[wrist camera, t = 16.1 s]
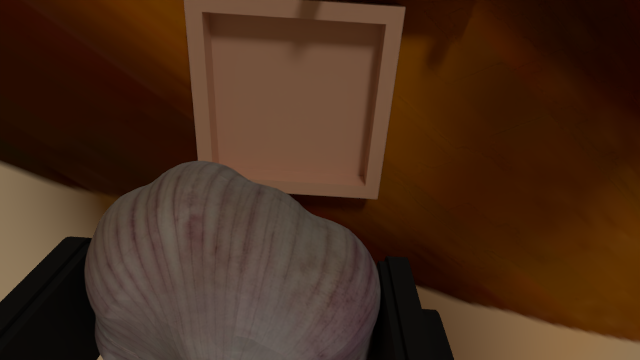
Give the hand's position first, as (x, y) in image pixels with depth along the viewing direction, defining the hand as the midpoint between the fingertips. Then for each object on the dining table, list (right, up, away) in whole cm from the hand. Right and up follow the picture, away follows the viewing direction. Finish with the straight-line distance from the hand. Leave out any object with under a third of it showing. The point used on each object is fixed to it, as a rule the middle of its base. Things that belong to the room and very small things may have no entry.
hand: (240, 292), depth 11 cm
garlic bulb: (0, +1, +2) cm, 2 cm away
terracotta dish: (0, +9, +18) cm, 20 cm away
